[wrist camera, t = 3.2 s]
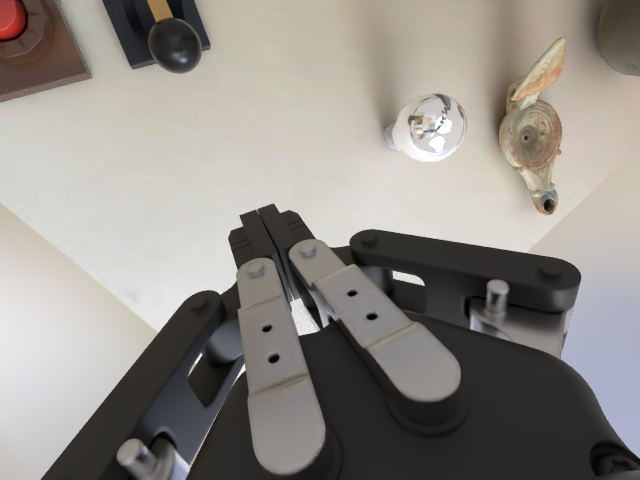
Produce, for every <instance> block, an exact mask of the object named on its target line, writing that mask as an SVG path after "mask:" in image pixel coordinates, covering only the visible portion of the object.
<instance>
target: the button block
mask: <svg viewBox="0 0 640 480" xmlns="http://www.w3.org/2000/svg"><path fill="white" fill-rule="evenodd" d="M18 1H19V2H20V3H21V5H22V7H23V9H24V11H25V15H26V24H25V27H24V29H23V31H22V32H21V33H20V34H19V35H18V36H16V37H14V38H11V39H6V40H1V39H0V102H3V101H6V100H10V99H14V98H18V97H22V96H25V95H29V94H33V93H37V92H40V91H44V90H48V89H52V88H56V87H59V86H63V85H67V84H71V83H74V82H78V81H82V80H86V79H90V78H92V76H91V74H90V71H89V69H88V67H87V65H86V63H85V60H84V58H83V56H82V54H81V51H80V49H79V47H78V45H77V43H76V40H75V38H74V36H73V34H72V32H71V29H70V27H69V25H68V23H67V21H66V18H65V16H64V14H63V12H62V9H61V7H60V5H59V3H58V1H57V0H18Z"/></svg>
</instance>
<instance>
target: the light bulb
mask: <svg viewBox="0 0 640 480" xmlns="http://www.w3.org/2000/svg"><path fill="white" fill-rule="evenodd" d="M466 130H467V118H466V114H465V111H464V109H463V107H462V105H461V104H460V103H459V102H458V101H457V100H456V99H455V98H454V97H452V96H451V95H449V94H446V93H444V92H437V91H431V92H425V93H422V94H419V95H417V96H416V97H414V98H412V99H411V100H409V101H408V102H407V103H406V104H405V106H404V107H403V108H402V110H401V111H400V113H399V115H398V117H397V121H396V122H393V123H391V124H390V125H388V126H387V128H386V130H385V133H384V138H385V141H386V144H387V145H388V146H389V147H390V148H391V149H393V150H402V151H403V152H404V153H405V154H406V155H407V156H409V157H410V158H412V159H414V160H416V161H420V162H429V163H431V162H437V161H440V160H443V159H445V158H447V157H448V156H450V155H451V154H453V153H454V152H455V151H456V150H457V149H458V147H459V146H460V145H461V143H462V142H463V139H464V137H465V134H466Z"/></svg>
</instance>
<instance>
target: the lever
mask: <svg viewBox="0 0 640 480" xmlns="http://www.w3.org/2000/svg"><path fill="white" fill-rule="evenodd" d="M147 2H148V4H149V7H150V9H151V11H152V14H153V16H154V19H155V21H156V23H155V24H154V25H153V27H152V29H151V30H150V33H149V38H148V43H149V49H150V52H151V54H152V56H153V58H154V60H155V61H156V62H157V63H158V64H159V65H160V66H161V67H162V68H164V69H165V70H167V71H169V72H172V73H177V74H182V73H187V72H189V71H191V70H193V69H194V68H195V67H196V66H197V65H198V63H199V61H200V58H201V54H202V47H201V42H200V39H199V37H198V35H197V33H196V32H195V30H194V29H193V28H192V27H191V26H190V25H189V24H188V23H186V22H185V21H183V20H181V19H178V18H173V16H172V13H171V11H170V9H169V6H168V4H167V2H166V0H147Z"/></svg>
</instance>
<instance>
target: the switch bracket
mask: <svg viewBox="0 0 640 480" xmlns="http://www.w3.org/2000/svg"><path fill="white" fill-rule="evenodd" d="M166 2H167V4H168V6H169V9H170V11H171V13H172V16H173V18H178V19H181V20H183V21H185V22H186V23H188V24H189V25H190V26H191V27H192V28H193V29H194V30H195V32H196V33H197V35H198V37H199V39H200V42H201V47H202V51H204V50H208V49H210V43H209V40H208V37H207V34H206V32H205V29H204V26H203V24H202V21H201V18H200V16H199V13H198V10H197V8H196V5H195V2H194V0H166ZM103 3H104V5H105V8H106V10H107V12H108V15H109V17H110V19H111V22H112V24H113V26H114V29H115V31H116V33H117V36H118V38H119V40H120V43H121V45H122V47H123V50H124V52H125V55H126V57H127V59H128V62H129V64H130V66H131V68H132V69H137V68H140V67H144V66H148V65H152V64H155V63H157V62H156V61H155V60H154V58H153V56H152V54H151V52H150V49H149V43H148V38H149V33H150V30H151V29H152V27H153V25H154V24H155V23H156V21H155V19H154V16H153V14H152V11H151V9H150V7H149V4H148V2H147V0H103Z"/></svg>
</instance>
